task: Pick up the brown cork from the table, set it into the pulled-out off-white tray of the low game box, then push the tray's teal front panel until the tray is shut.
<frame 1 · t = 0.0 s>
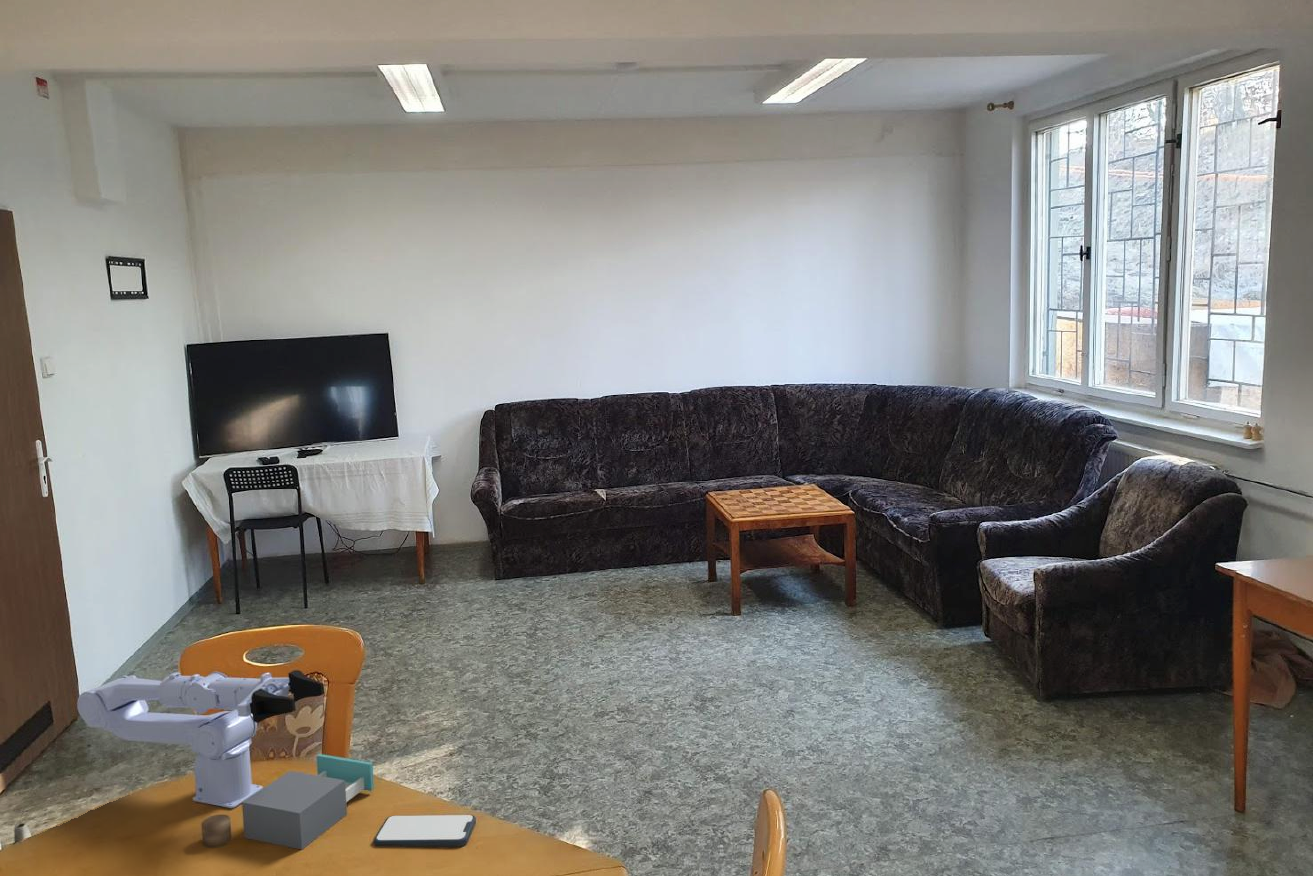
hand: (308, 697, 172), 22 cm above the table, tool horizontal, fingers open, 7 cm apart
tray: (326, 785, 177), point 3 cm above the table, slide at 7.0 cm
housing: (296, 826, 170), on the table
brown cork: (217, 840, 166), on the table
smartphone: (426, 836, 167), on the table
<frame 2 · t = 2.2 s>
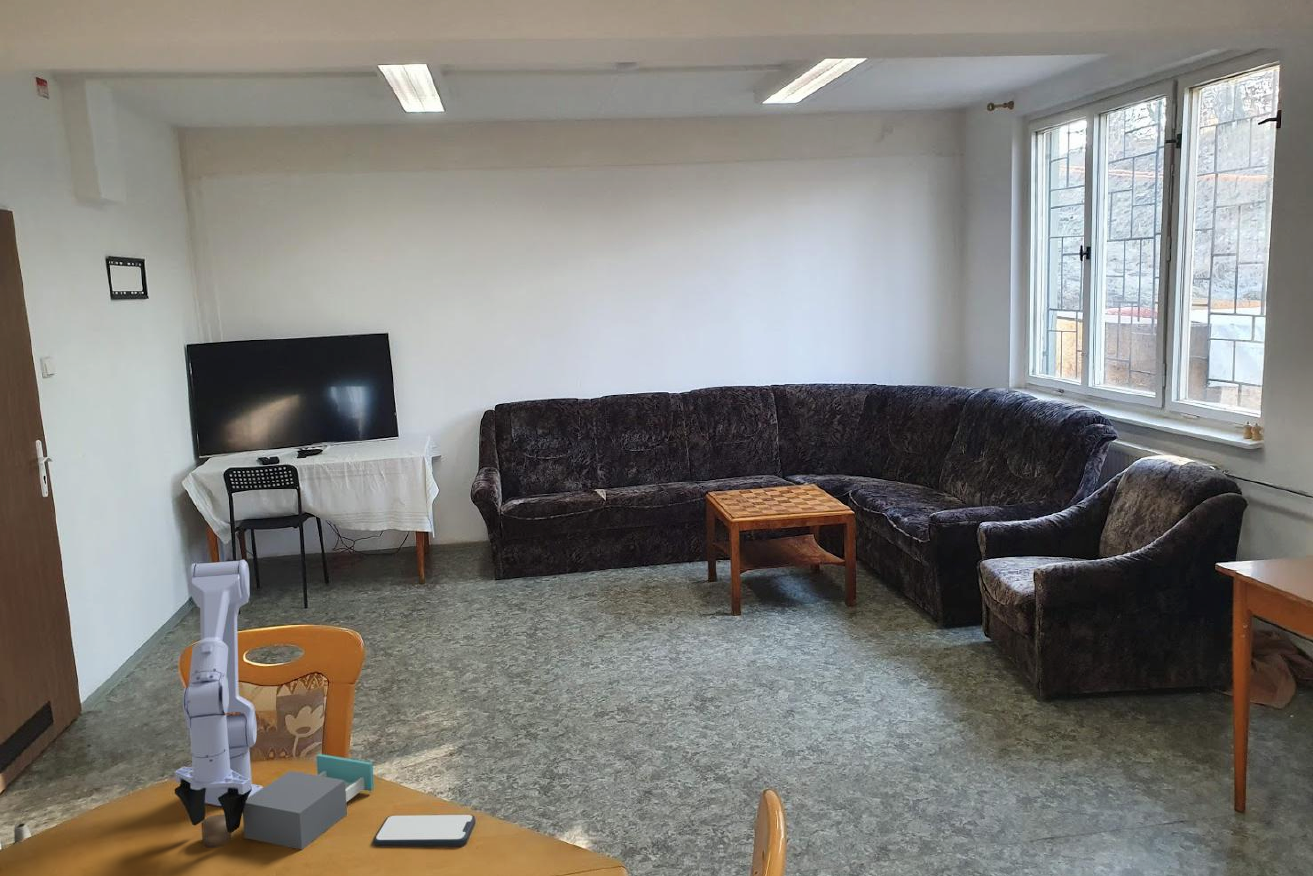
hand: (216, 826, 165), 3 cm above the table, tool pointing down, fingers open, 7 cm apart
nothing on the table moved.
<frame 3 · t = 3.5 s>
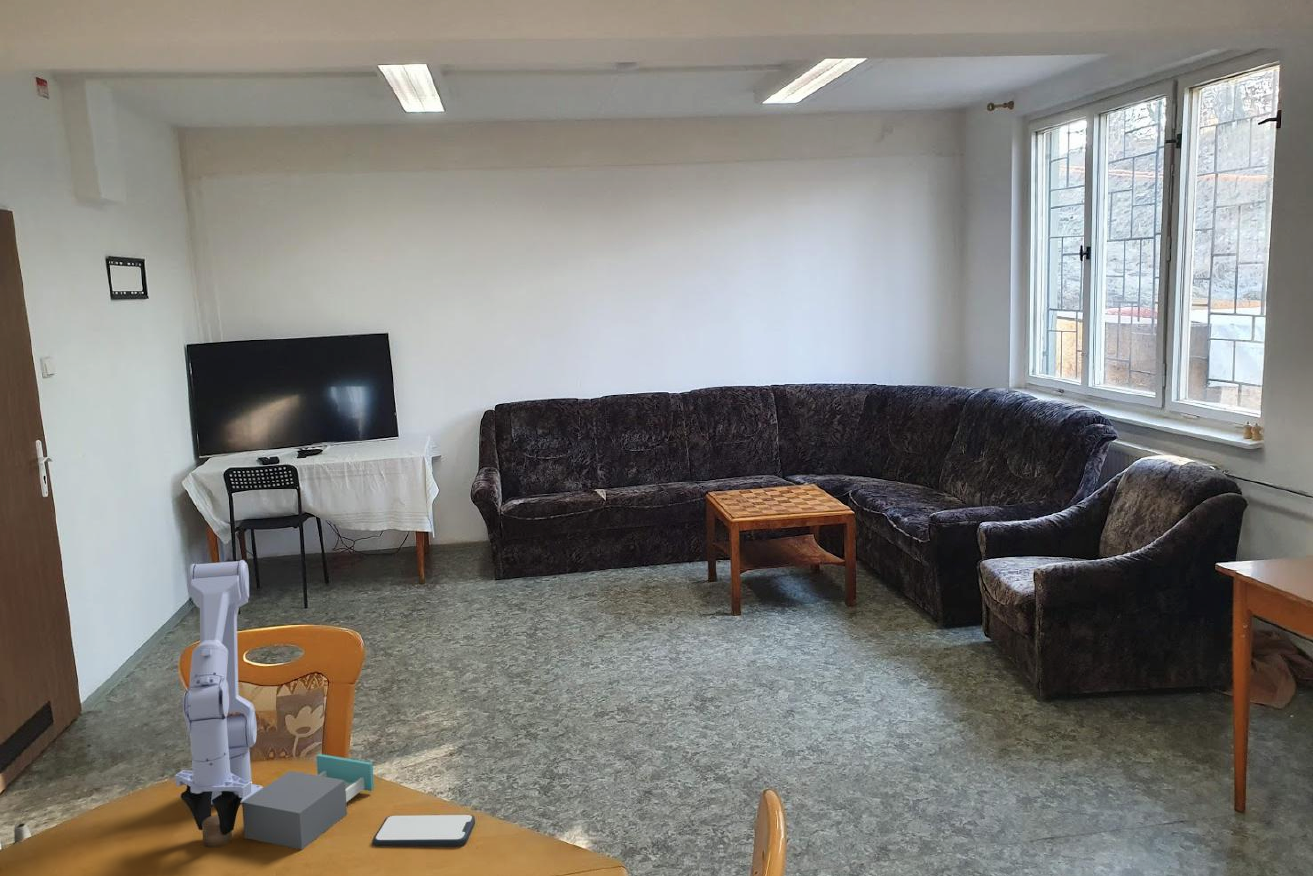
hand: (216, 829, 165), 2 cm above the table, tool pointing down, fingers closed on brown cork, 4 cm apart
brown cork: (217, 840, 166), on the table, touching gripper
everything else where it was.
when the fingers open (5 cm above the table, at t = 8.1 s): brown cork stays where it is, resting on tray.
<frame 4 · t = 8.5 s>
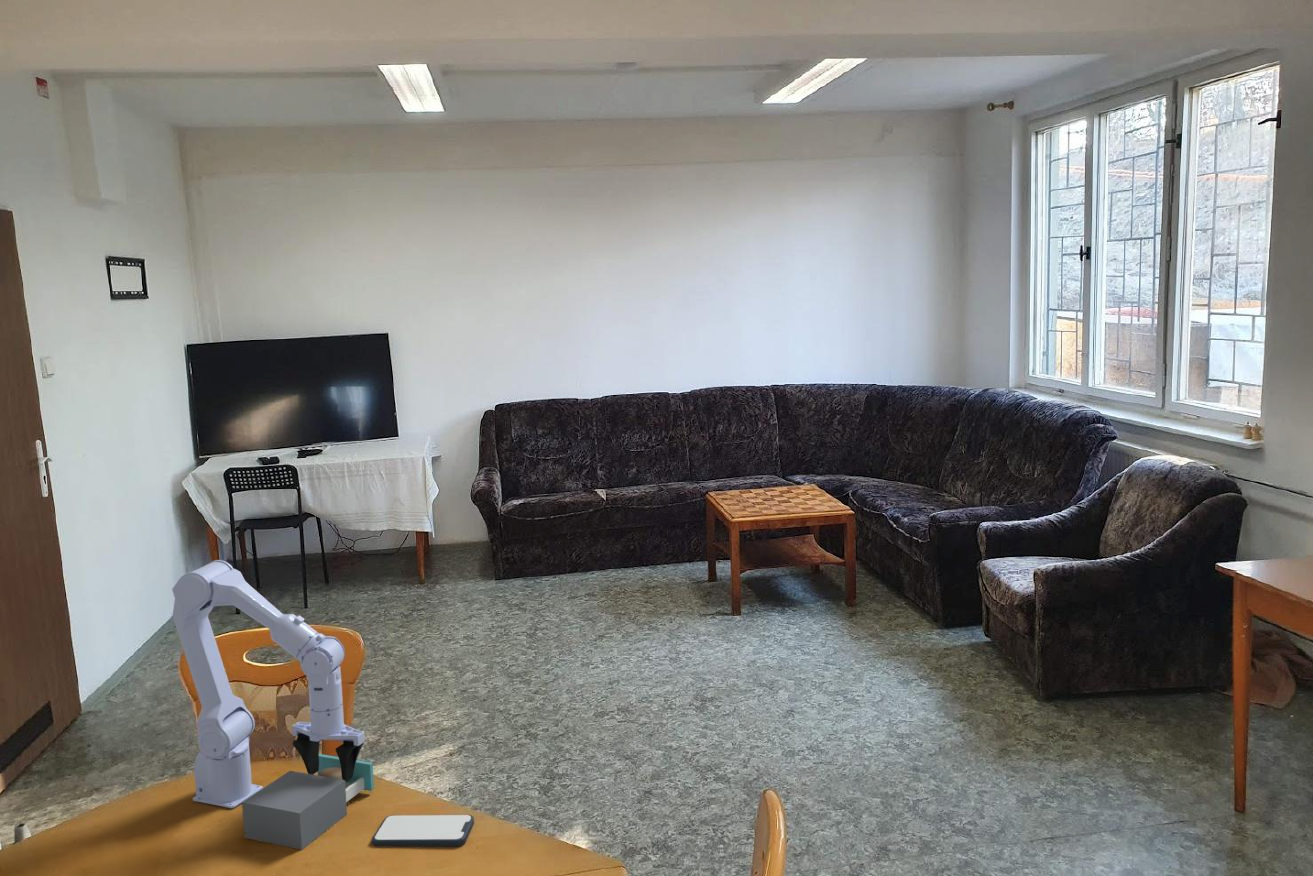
hand: (330, 776, 178), 5 cm above the table, tool pointing down, fingers open, 7 cm apart
tray: (326, 785, 177), point 3 cm above the table, slide at 7.0 cm, touching brown cork
brown cork: (331, 790, 179), point 2 cm above the table, touching tray
everything else where it was.
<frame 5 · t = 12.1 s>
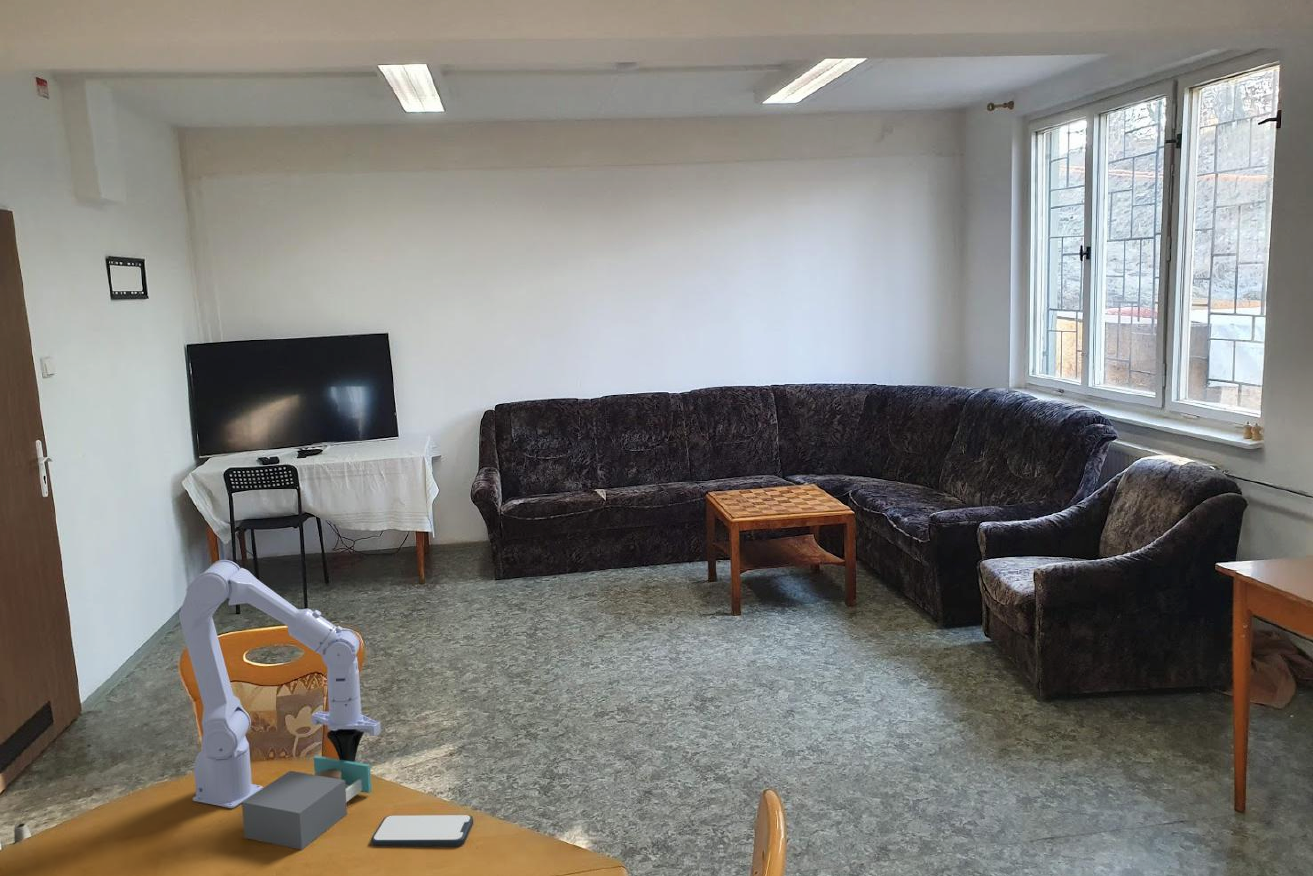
hand: (348, 764, 183), 4 cm above the table, tool pointing down, fingers closed, pressing on tray
tray: (323, 787, 176), point 3 cm above the table, slide at 6.2 cm, touching gripper, brown cork
everything else where it was.
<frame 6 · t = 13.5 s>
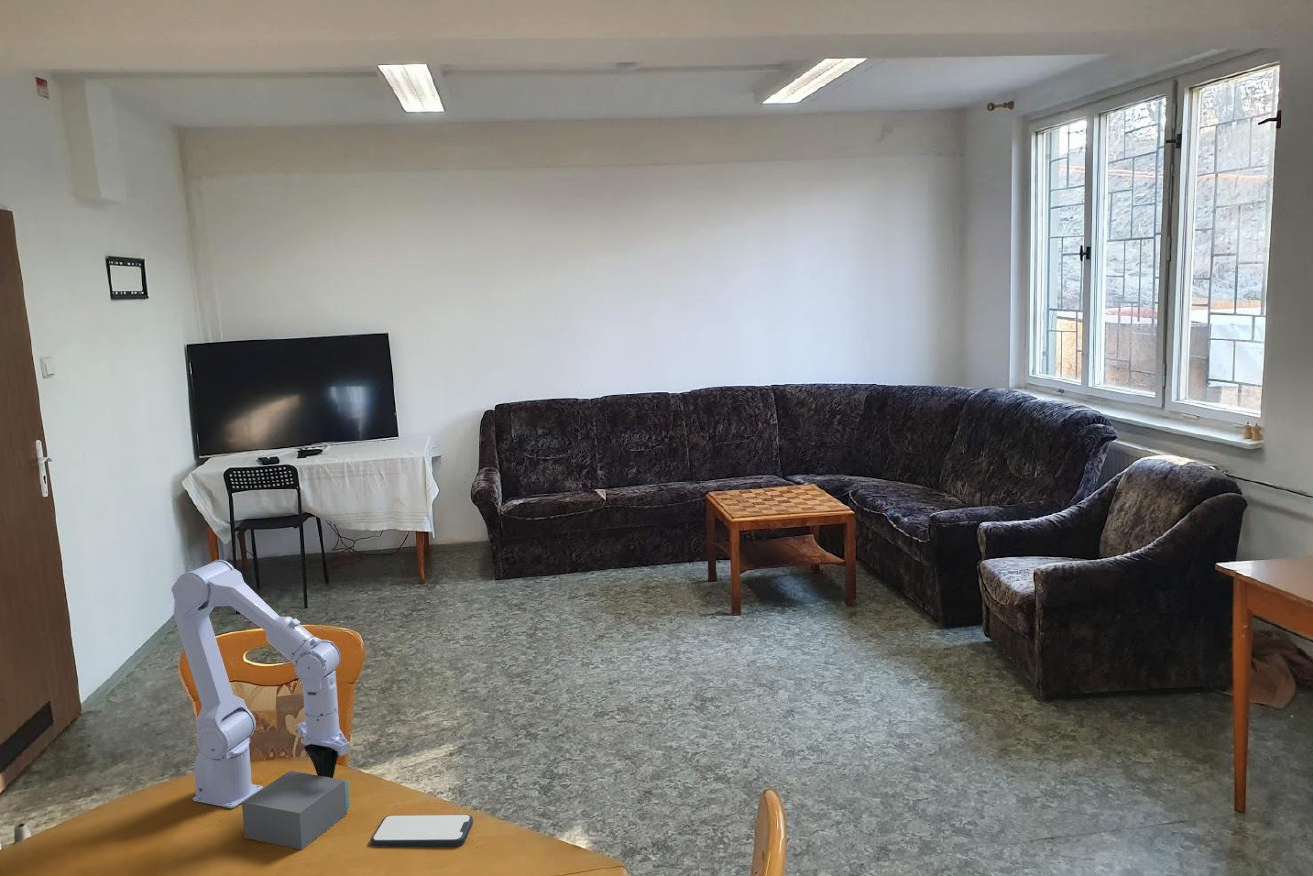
hand: (326, 780, 177), 4 cm above the table, tool pointing down, fingers closed, pressing on tray
tray: (299, 805, 170), point 3 cm above the table, slide at -0.3 cm, touching gripper, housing, brown cork
brown cork: (305, 810, 172), point 2 cm above the table, touching tray
everything else where it was.
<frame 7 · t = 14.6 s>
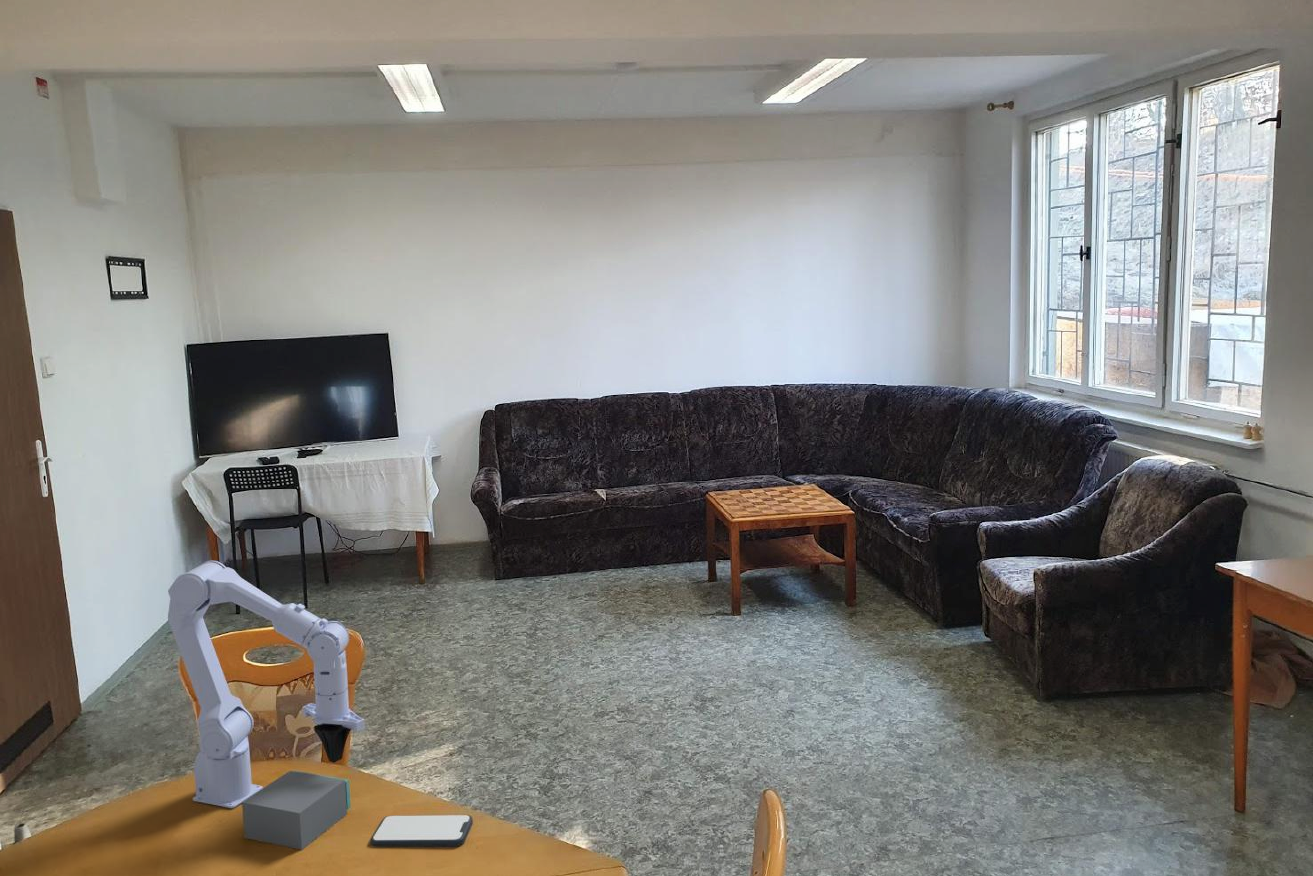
hand: (335, 760, 179), 7 cm above the table, tool pointing down, fingers closed
tray: (300, 804, 170), point 3 cm above the table, slide at 0.0 cm, touching brown cork
everything else where it was.
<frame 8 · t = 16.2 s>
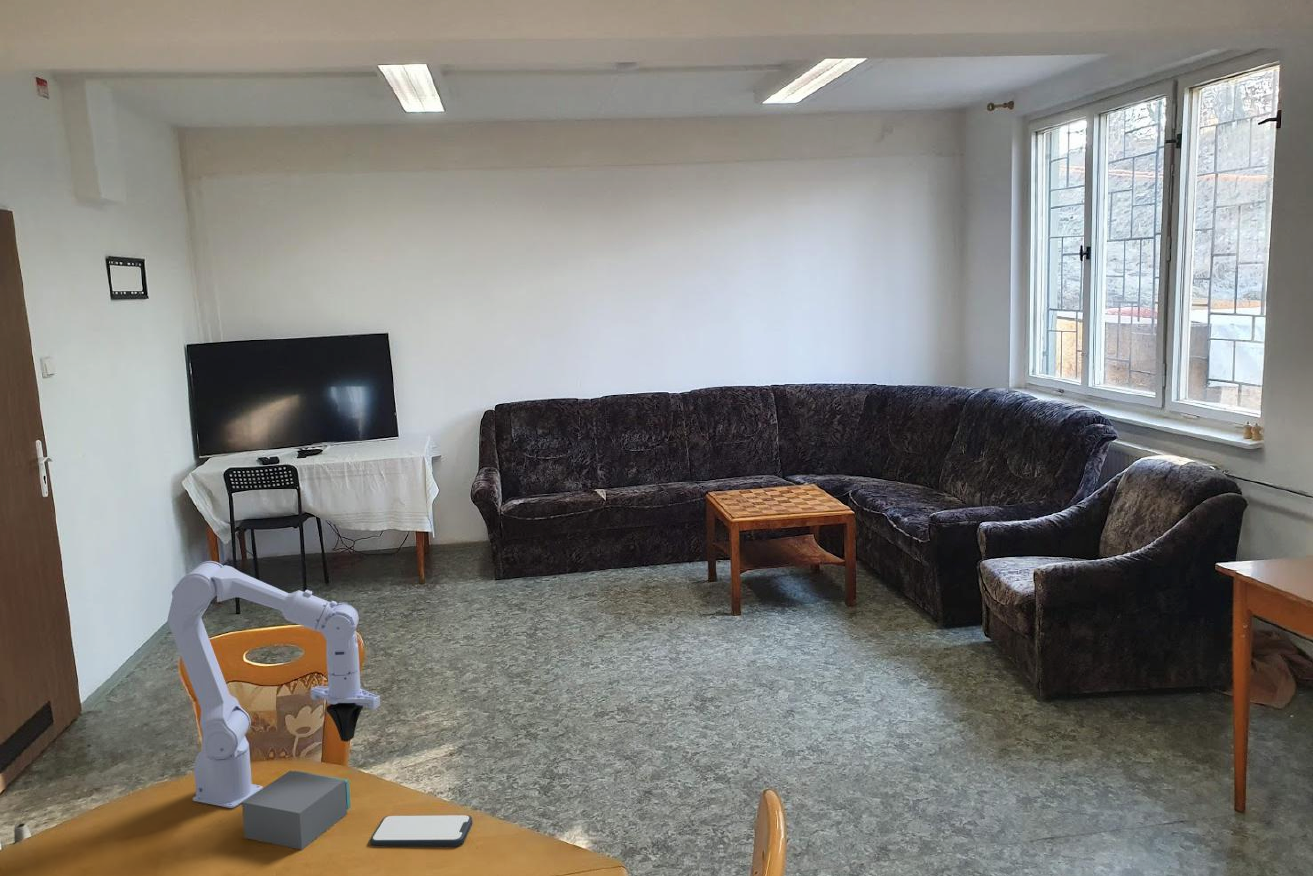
hand: (347, 739, 183), 9 cm above the table, tool pointing down, fingers closed
nothing on the table moved.
at the end: tray slide at 0.0 cm; brown cork inside the target area on the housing (2.9 cm from its centre), point 1.7 cm above the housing's base; the gripper is holding nothing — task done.
